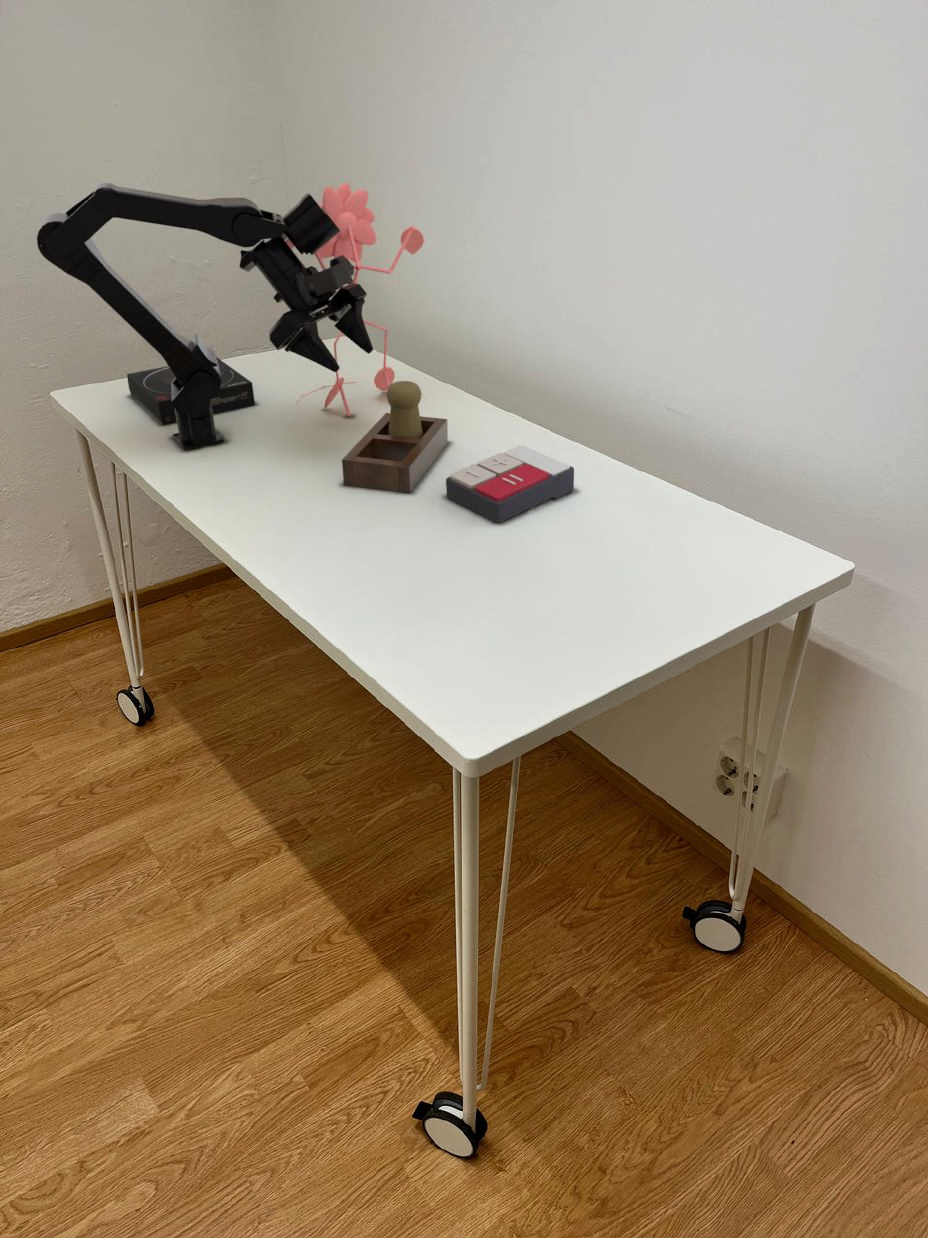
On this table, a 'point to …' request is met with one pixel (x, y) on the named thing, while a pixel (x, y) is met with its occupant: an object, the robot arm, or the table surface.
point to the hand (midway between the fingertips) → (354, 360)
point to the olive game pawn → (404, 410)
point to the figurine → (357, 257)
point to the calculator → (510, 483)
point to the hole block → (394, 456)
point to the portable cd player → (157, 399)
